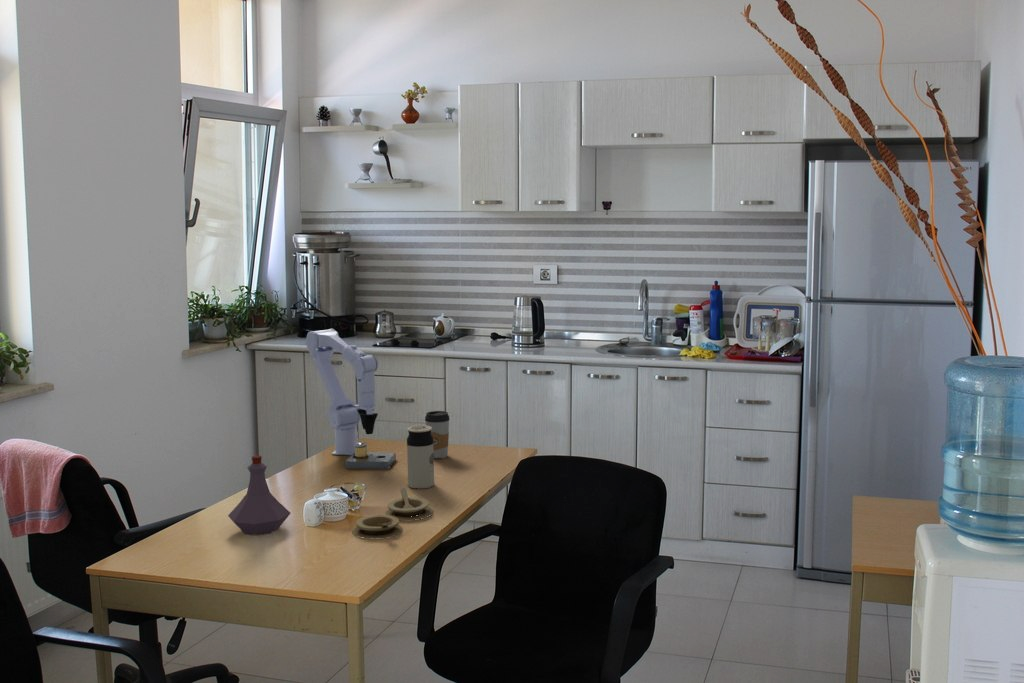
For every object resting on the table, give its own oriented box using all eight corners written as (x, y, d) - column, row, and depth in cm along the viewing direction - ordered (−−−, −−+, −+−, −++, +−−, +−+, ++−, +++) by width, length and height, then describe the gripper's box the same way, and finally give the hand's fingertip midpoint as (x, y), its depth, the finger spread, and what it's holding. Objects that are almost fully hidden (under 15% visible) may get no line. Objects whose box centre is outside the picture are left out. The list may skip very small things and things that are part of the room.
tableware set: (390, 505, 297) (390, 485, 296) (451, 513, 289) (450, 492, 288) (333, 537, 270) (332, 515, 269) (398, 546, 262) (397, 524, 261)
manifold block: (354, 459, 346) (354, 452, 346) (395, 459, 345) (395, 452, 344) (345, 468, 334) (345, 461, 334) (387, 469, 333) (387, 461, 333)
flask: (266, 516, 285) (262, 446, 283) (304, 527, 275) (301, 455, 272) (215, 531, 273) (211, 458, 270) (253, 544, 263) (249, 468, 260)
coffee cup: (422, 458, 345) (420, 415, 343) (431, 452, 353) (430, 410, 351) (445, 460, 343) (444, 416, 341) (454, 454, 351) (453, 411, 349)
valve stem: (361, 461, 343) (360, 441, 342) (370, 463, 340) (369, 442, 339) (353, 464, 339) (351, 444, 338) (362, 466, 337) (361, 445, 336)
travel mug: (403, 487, 312) (401, 429, 309) (417, 480, 319) (415, 424, 316) (425, 490, 308) (423, 431, 306) (439, 483, 315) (437, 426, 313)
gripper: (351, 388, 349) (353, 427, 351) (357, 396, 335) (358, 437, 337) (372, 387, 351) (374, 426, 353) (378, 394, 337) (380, 435, 339)
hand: (367, 431), depth 345 cm, fingers open, 7 cm apart
